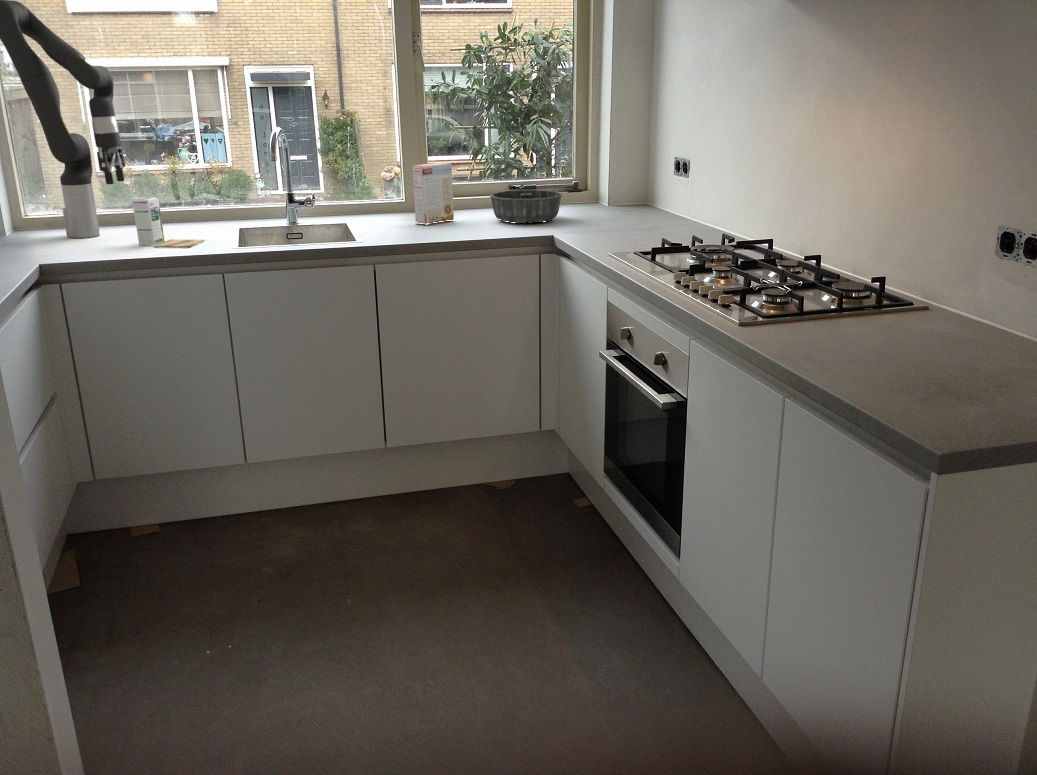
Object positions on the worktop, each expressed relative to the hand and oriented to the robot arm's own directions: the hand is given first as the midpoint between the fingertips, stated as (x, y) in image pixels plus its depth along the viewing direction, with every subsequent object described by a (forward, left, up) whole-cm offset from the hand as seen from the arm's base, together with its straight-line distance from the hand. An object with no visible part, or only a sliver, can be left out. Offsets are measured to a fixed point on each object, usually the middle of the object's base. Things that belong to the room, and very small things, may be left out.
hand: (115, 182), depth 296 cm
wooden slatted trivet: (+25, -13, -18) cm, 33 cm away
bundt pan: (+132, +42, -18) cm, 140 cm away
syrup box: (+16, -13, -18) cm, 27 cm away
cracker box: (+99, +36, -18) cm, 107 cm away
